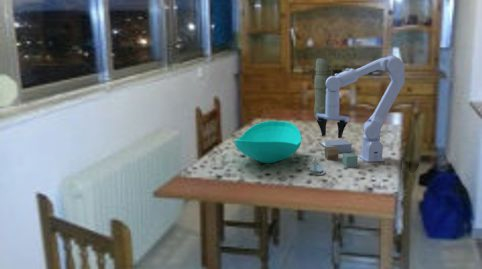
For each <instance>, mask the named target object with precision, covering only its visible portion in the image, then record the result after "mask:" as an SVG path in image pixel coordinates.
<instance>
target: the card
mask: <svg viewBox="0 0 482 269" xmlns="http://www.w3.org/2000/svg"><path fill="white" fill-rule="evenodd" d="M318 144H319V145H320V146H321V147H322V148H325V141H321V142H320V141H319V142H318Z"/></svg>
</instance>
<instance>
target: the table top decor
mask: <svg viewBox="0 0 482 269" xmlns="http://www.w3.org/2000/svg"><path fill="white" fill-rule="evenodd" d="M302 140H303V139H302V134H301V131H300V129H299V128H298V127H297V126H296V125H295V124H294V123H292V122H288V121H285V120H283V121H282V120H281V121H280V120H268V121H262V122H259V123H256V124H254V125H252V126H251V127H250V128H248V129H247V130H245V132H244V133H243V134H242V135H241V136H239V137H238V138H236V139H235V140H234V141H233V142H234V146H235V147H236V149H237V150H238V151H239V152H241V153H242V154H243V155H244V156H246V157H249V158H251V159H253V160H255V161H258V162H259V163H264V164H272V163H276V162H281V161H283V160H285V159H287V158H290V157H291V156H292V155H293V154H295V153H296V152H297V151H298V149H299V148H300V147H301V144H302V143H301V142H302Z"/></svg>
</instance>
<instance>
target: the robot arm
mask: <svg viewBox="0 0 482 269" xmlns="http://www.w3.org/2000/svg"><path fill="white" fill-rule="evenodd" d="M374 71H375V72H376V71H384V72H385V71H387V73H388V75H389V77H390V80H391V81H390V82H389V84H388V86H387V88H386V90H385V91H384V94H383V95H382V97H381V99H380V101H379V103H378V105H377V106H376V108H375V110H374V112H373V114H371V116H369V118H368V120H366V121H365V122H364V123H363V125H362V130H363V132H364V134H363V135H362V139H361V140H362V142H361V143H362V146H361V147H362V148H361V154H358V158H360V159H362V160H363V161H364V162H366V163H369V162H371V163H372V162H384V161H385V159H384V158H383V154H384V153H383V151H384V148H383V144H382V142H381V129H382V127H383V126H384V125H383V124H384V120H385V118H387V115H388V113H389V112H390V109H391V107H392V106H393V104H394V102H395V100H396V99H397V97H398V95H399V93H400V92H401V89H402V88H403V86H404V84H405V82H406V80H405V79H406V78H405V65H404V63H403V60H402V59H400V58H399V57H397V56H395V55H392V54H391V55H387V56H386V57H380V58H378V59H376V60H373V61H371V62H370V63H367V64H365V65H363V66H361V67H358V68H356V69H355V68H349V67H347V68H345V70H344V71H342V72H339V73H338V72H337V73H335V74H334V75H332V76H331V75H330V76H329V78H327V80H326V83H325V85H326V87H327V89H326V112H325V114H319V113H318V114H316V118H315V119H316V123H317V124H318V126H319V129H320V132H321V136H322V137H324V136H326V134H327V123H328V122H327V121H328V120H330V121H337V122H336V123H337V131H338V132H337V138H338V139H342V138H343V134H344V130H345V129H346V126H347V125H348V122H349V121H350V117H349V116H346V115H342V114H340V97H341V95H340V88H343V87H346V86H348V85H351V84H353V83H355V82H357V81H358V79H359V77H362V76H365V75H367V74H369V73H372V72H374Z"/></svg>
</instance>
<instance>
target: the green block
mask: <svg viewBox="0 0 482 269" xmlns="http://www.w3.org/2000/svg"><path fill="white" fill-rule="evenodd" d="M358 158H359V155H357V154H355V153H354V152H344V153H342V165H343V166H344V167H346V168H355V167H358Z"/></svg>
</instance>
